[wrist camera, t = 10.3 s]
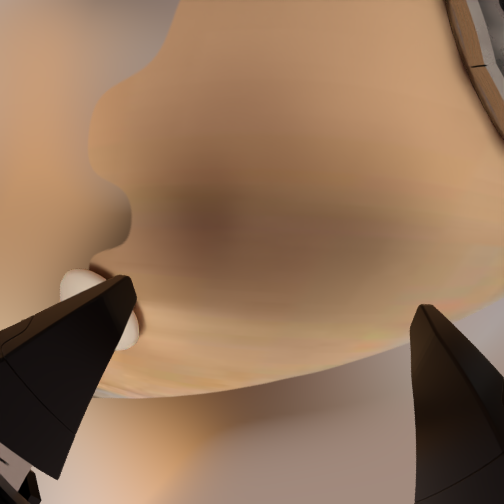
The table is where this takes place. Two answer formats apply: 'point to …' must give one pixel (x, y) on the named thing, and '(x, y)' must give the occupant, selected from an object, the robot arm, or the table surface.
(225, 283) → the table surface
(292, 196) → the table surface
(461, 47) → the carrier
